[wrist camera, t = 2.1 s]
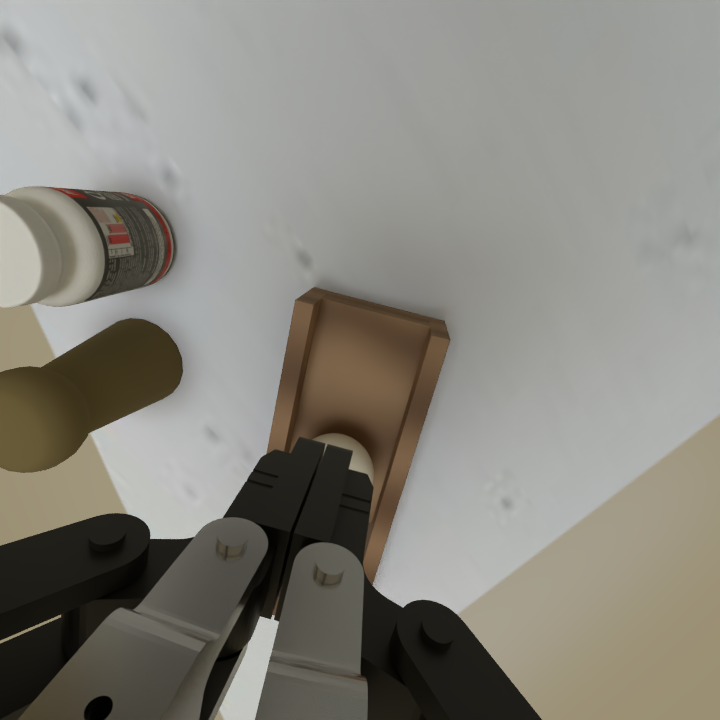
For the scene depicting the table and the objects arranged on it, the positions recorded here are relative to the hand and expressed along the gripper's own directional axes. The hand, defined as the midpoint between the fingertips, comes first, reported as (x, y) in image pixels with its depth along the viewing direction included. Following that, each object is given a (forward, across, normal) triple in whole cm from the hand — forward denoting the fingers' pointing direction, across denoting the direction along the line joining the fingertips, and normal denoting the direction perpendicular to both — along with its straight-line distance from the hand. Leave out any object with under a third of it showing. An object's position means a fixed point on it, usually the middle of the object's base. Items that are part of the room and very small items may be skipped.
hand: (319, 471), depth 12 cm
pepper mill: (+17, +15, +6) cm, 23 cm away
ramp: (+17, 0, +10) cm, 19 cm away
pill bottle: (+17, +16, -2) cm, 23 cm away
